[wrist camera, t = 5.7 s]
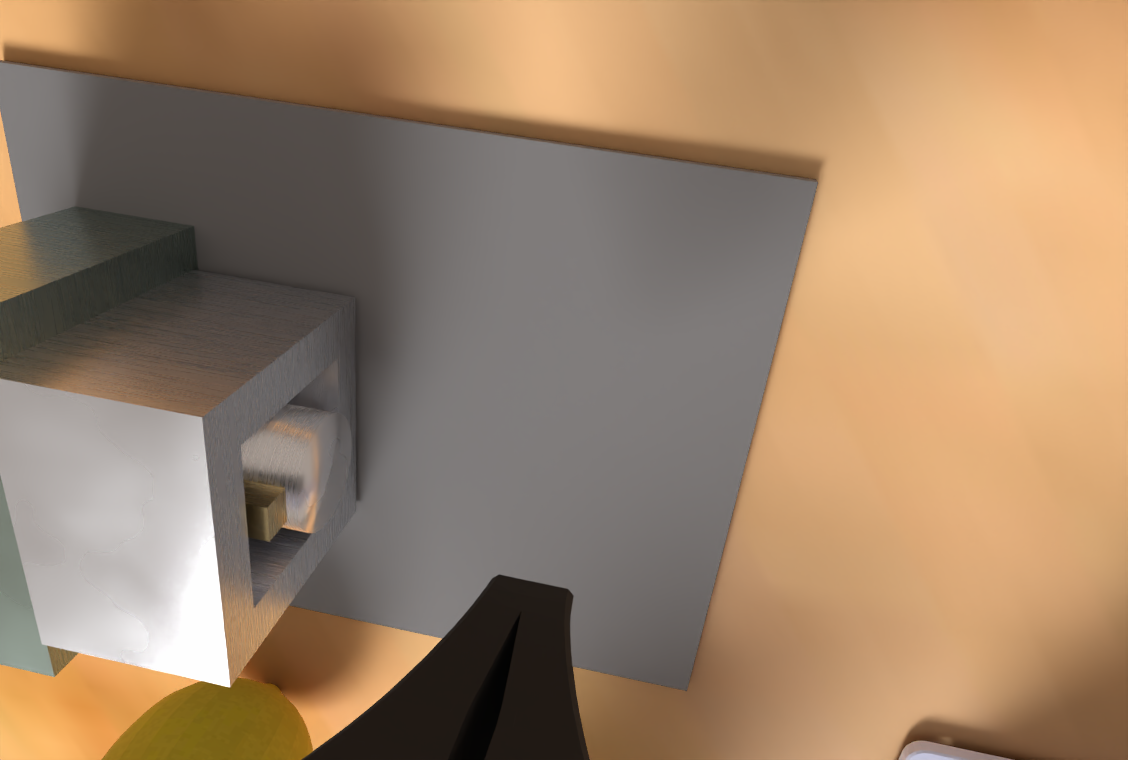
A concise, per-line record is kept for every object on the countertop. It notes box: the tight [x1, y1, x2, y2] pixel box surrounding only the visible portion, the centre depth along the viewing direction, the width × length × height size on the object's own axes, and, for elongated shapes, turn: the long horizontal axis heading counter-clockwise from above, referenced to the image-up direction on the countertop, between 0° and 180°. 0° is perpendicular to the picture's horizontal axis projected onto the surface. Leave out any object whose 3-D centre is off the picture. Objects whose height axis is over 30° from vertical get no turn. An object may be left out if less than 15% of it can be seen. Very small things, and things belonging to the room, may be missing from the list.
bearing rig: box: [0, 206, 352, 677], centre depth 17 cm, size 8×8×6 cm
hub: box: [0, 270, 356, 687], centre depth 16 cm, size 4×6×6 cm, turn 173°
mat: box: [0, 60, 818, 691], centre depth 19 cm, size 18×14×1 cm
